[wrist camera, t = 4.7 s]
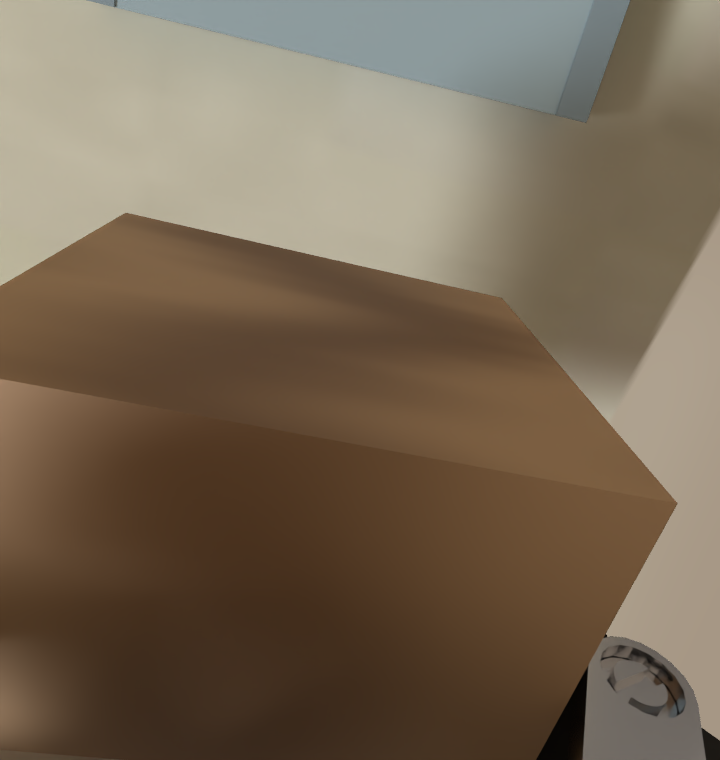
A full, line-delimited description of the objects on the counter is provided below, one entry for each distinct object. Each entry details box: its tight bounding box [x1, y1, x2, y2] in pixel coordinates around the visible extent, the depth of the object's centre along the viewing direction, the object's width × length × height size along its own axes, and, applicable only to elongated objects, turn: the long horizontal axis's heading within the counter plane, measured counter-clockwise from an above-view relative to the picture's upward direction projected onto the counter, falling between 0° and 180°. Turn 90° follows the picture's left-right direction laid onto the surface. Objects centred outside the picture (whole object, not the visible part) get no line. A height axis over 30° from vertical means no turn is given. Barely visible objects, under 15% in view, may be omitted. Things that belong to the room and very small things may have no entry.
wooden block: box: [0, 213, 677, 760], centre depth 9 cm, size 6×8×6 cm
